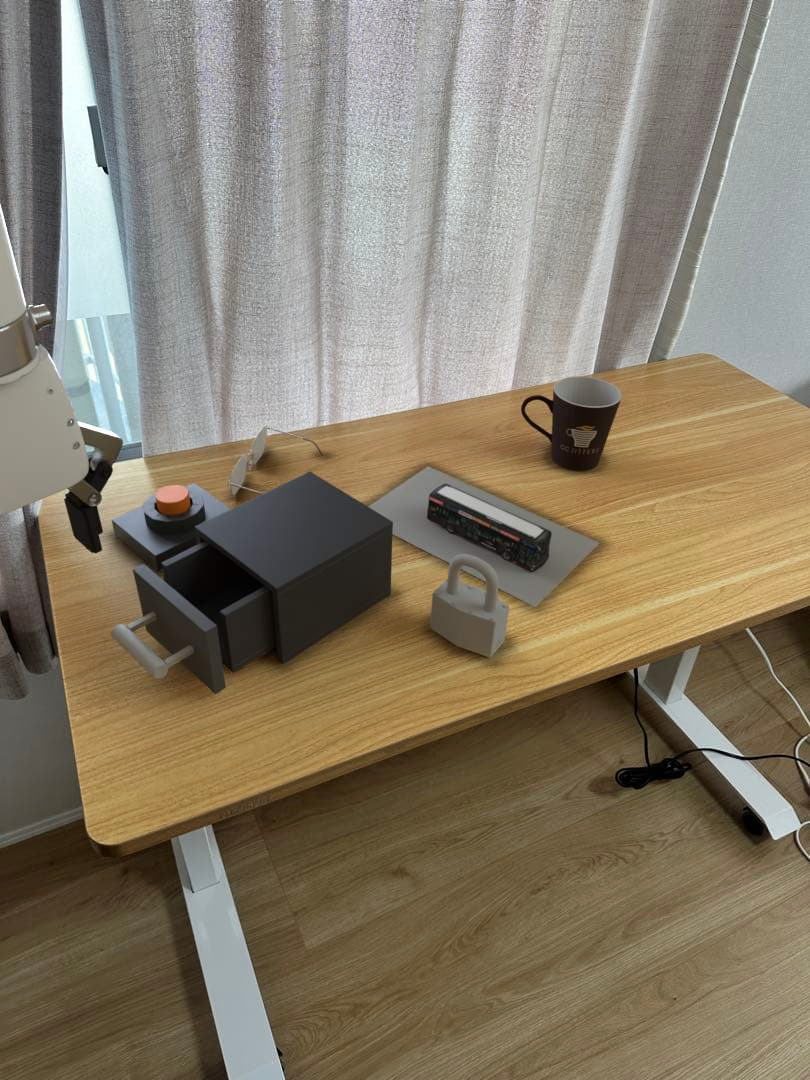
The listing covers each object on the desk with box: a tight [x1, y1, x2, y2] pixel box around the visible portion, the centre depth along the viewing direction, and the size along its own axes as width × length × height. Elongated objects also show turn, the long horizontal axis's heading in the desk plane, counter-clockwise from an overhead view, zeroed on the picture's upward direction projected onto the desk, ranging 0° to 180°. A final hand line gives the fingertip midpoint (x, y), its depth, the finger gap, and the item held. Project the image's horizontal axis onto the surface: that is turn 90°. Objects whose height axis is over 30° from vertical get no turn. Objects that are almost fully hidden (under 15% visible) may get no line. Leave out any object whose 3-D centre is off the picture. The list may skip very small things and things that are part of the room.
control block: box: [111, 482, 232, 572], centre depth 91 cm, size 11×9×4 cm
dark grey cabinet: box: [195, 471, 393, 665], centre depth 82 cm, size 15×13×10 cm
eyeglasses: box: [227, 425, 324, 496], centre depth 101 cm, size 14×8×4 cm, turn 168°
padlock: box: [429, 554, 510, 658], centre depth 78 cm, size 7×4×10 cm, turn 56°
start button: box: [155, 484, 190, 515], centre depth 90 cm, size 4×4×2 cm
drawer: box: [110, 541, 277, 695], centre depth 76 cm, size 18×11×8 cm, turn 136°
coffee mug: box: [520, 375, 623, 472], centre depth 106 cm, size 12×9×10 cm
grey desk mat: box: [367, 466, 600, 608], centre depth 94 cm, size 14×25×4 cm, turn 52°
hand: (36, 566), depth 60 cm, fingers open, 7 cm apart
